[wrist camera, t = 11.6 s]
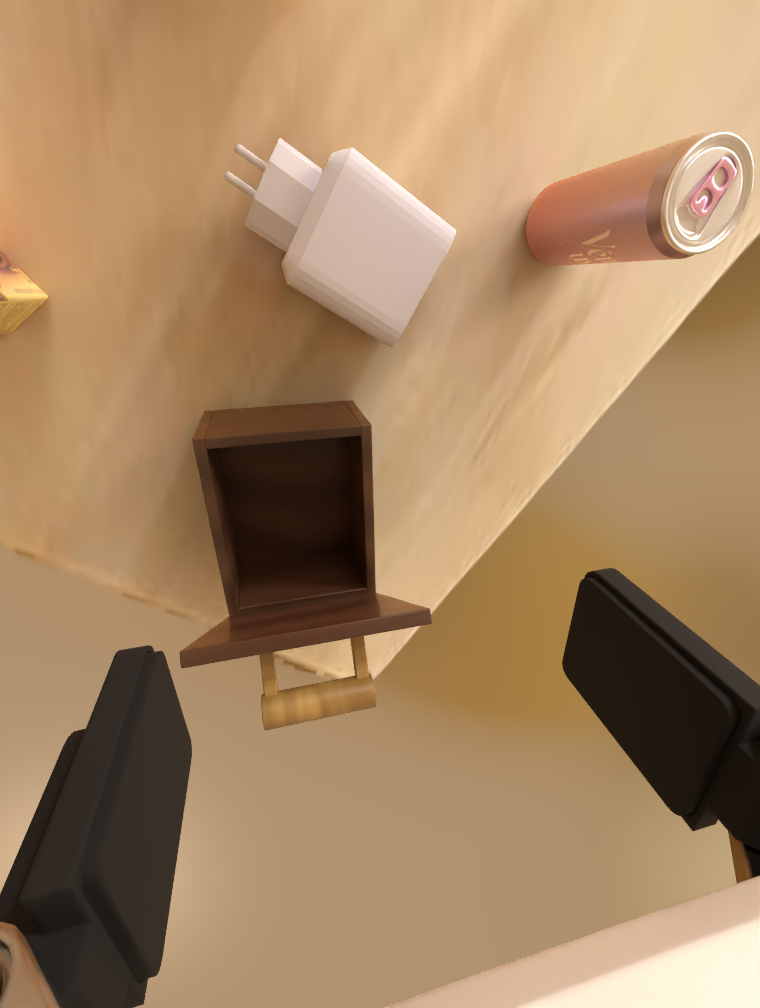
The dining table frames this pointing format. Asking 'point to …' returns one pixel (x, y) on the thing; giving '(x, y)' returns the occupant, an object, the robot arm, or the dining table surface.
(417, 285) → the charger
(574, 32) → the dining table surface
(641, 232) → the beverage can
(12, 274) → the candy box
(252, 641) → the lid
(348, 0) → the dining table surface
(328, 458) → the box
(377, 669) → the dining table surface
